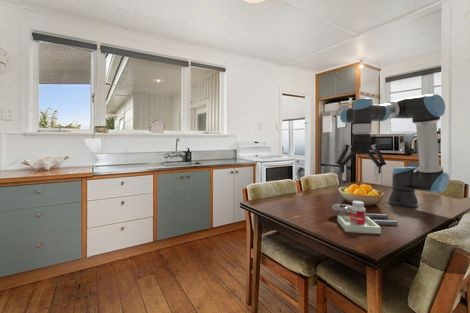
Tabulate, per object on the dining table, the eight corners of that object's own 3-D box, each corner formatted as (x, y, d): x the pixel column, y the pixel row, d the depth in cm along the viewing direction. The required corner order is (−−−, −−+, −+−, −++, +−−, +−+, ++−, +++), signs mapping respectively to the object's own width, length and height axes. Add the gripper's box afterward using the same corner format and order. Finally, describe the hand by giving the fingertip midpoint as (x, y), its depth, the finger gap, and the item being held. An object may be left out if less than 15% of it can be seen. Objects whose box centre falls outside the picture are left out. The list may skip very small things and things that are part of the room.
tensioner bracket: (386, 217, 121) (386, 214, 121) (397, 225, 110) (397, 221, 110) (365, 216, 123) (365, 213, 123) (374, 224, 112) (374, 220, 112)
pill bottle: (348, 225, 109) (349, 202, 108) (351, 222, 113) (352, 199, 112) (363, 229, 105) (364, 204, 104) (366, 225, 109) (367, 201, 108)
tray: (367, 222, 115) (367, 216, 115) (380, 233, 101) (380, 227, 101) (337, 220, 117) (337, 215, 117) (345, 231, 103) (346, 225, 103)
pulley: (349, 214, 126) (350, 202, 126) (356, 221, 117) (356, 208, 116) (329, 213, 128) (330, 202, 128) (334, 219, 118) (335, 207, 118)
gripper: (387, 133, 108) (385, 179, 110) (330, 134, 112) (329, 178, 114) (396, 133, 101) (393, 182, 102) (334, 133, 104) (333, 181, 106)
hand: (359, 180), depth 108 cm, fingers open, 13 cm apart
